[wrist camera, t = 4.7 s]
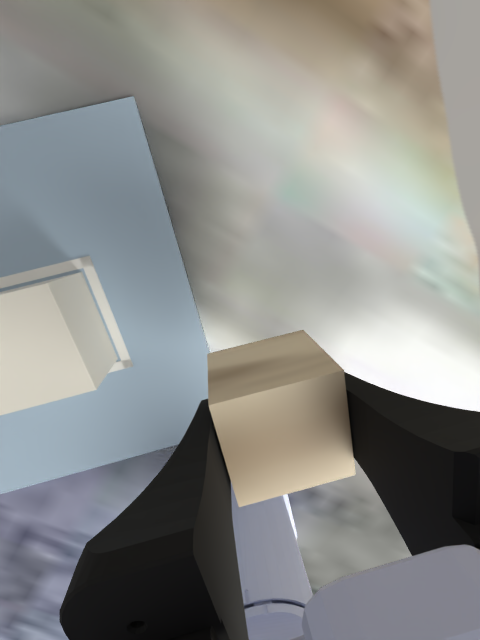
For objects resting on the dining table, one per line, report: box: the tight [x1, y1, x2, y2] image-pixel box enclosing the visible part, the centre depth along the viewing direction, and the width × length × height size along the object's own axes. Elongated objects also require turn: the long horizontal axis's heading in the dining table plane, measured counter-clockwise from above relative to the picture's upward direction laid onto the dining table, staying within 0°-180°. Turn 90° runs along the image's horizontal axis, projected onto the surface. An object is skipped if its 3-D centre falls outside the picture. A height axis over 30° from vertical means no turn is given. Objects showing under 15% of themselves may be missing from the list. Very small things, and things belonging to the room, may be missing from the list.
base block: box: [0, 272, 118, 416], centre depth 16 cm, size 6×6×4 cm
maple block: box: [207, 330, 356, 507], centre depth 12 cm, size 4×4×4 cm
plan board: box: [0, 96, 210, 494], centre depth 18 cm, size 22×18×1 cm
